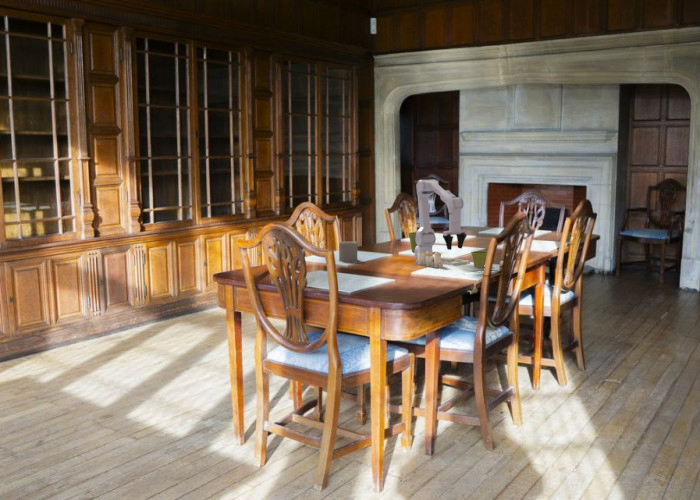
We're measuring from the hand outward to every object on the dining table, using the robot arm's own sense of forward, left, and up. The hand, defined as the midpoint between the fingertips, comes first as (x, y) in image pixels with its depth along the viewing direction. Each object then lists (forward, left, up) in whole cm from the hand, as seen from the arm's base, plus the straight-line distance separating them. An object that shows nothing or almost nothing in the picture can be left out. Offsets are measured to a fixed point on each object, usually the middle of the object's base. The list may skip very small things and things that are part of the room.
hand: (454, 248), depth 361 cm
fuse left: (-14, -10, -9) cm, 19 cm away
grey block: (-58, -23, -10) cm, 63 cm away
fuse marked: (-8, -10, -9) cm, 15 cm away
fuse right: (-2, -10, -9) cm, 13 cm away
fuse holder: (-8, -10, -10) cm, 16 cm away
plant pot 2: (+10, +8, -10) cm, 16 cm away
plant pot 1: (-58, +27, -10) cm, 65 cm away
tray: (-7, +6, -10) cm, 14 cm away
